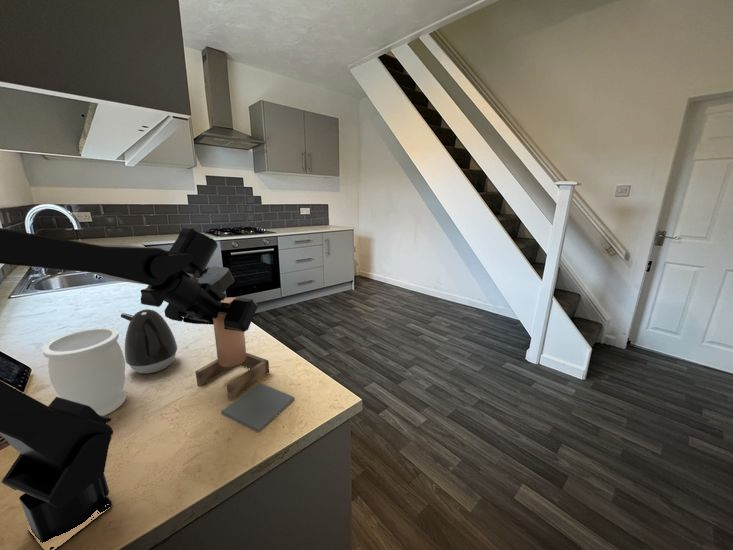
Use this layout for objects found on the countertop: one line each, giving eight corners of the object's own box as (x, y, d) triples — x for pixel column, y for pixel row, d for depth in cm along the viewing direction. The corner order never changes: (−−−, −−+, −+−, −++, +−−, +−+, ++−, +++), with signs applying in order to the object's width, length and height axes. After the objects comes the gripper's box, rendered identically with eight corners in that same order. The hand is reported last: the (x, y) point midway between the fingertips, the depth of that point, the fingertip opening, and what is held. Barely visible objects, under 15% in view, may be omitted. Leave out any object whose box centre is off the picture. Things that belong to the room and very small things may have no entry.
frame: (231, 400, 61) (229, 386, 60) (197, 384, 65) (195, 371, 64) (269, 373, 70) (268, 360, 69) (237, 361, 75) (236, 349, 74)
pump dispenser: (146, 356, 76) (135, 302, 72) (187, 355, 77) (179, 302, 73) (116, 380, 66) (102, 319, 62) (164, 379, 67) (153, 319, 63)
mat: (259, 432, 53) (258, 429, 53) (221, 413, 57) (221, 410, 57) (294, 399, 62) (294, 396, 61) (259, 385, 66) (259, 382, 66)
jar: (63, 405, 58) (43, 337, 54) (128, 383, 65) (115, 322, 61) (62, 436, 51) (39, 361, 47) (136, 408, 58) (121, 340, 54)
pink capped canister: (230, 371, 62) (223, 310, 58) (209, 362, 65) (201, 304, 61) (254, 356, 68) (250, 300, 64) (234, 349, 71) (229, 295, 67)
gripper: (248, 261, 54) (282, 297, 67) (168, 253, 58) (215, 289, 72) (221, 315, 49) (264, 344, 62) (136, 302, 53) (193, 331, 66)
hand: (233, 324), depth 66 cm, fingers closed on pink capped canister, 6 cm apart
